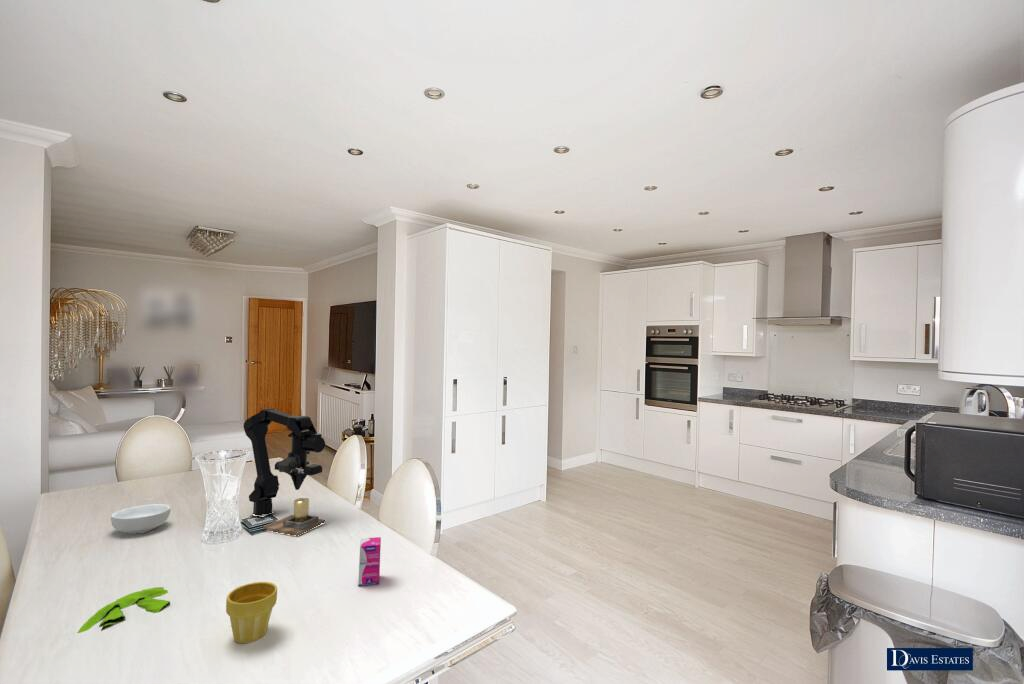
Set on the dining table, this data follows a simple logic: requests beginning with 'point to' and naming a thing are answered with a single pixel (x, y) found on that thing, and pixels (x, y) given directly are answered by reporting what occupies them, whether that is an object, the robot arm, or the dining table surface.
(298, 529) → the jig
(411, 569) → the dining table surface
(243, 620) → the plant pot
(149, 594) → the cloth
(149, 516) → the cereal bowl
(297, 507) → the solid brass cylinder
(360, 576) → the supplement box
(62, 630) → the dining table surface
